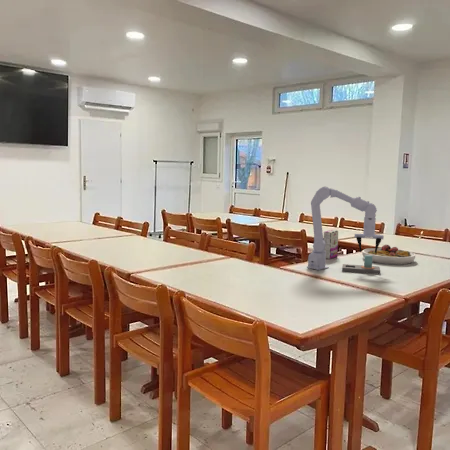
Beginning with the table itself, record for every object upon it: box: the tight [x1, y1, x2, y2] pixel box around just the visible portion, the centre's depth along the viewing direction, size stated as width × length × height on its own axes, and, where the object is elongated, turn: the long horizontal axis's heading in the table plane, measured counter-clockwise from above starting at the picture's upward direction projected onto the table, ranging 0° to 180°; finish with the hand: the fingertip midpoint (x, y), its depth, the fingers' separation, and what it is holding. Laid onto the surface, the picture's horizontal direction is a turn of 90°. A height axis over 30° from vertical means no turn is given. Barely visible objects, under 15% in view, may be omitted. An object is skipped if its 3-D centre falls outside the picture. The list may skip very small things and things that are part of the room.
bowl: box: [361, 244, 416, 265], centre depth 271 cm, size 30×30×8 cm
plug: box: [363, 255, 373, 268], centre depth 239 cm, size 4×4×6 cm
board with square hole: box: [341, 263, 381, 275], centre depth 240 cm, size 19×10×2 cm, turn 74°
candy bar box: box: [323, 229, 339, 260], centre depth 275 cm, size 11×5×16 cm, turn 143°
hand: (367, 252), depth 238 cm, fingers open, 7 cm apart
